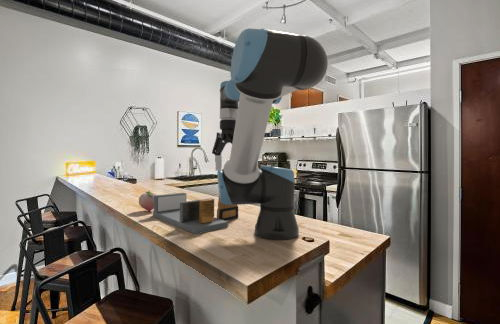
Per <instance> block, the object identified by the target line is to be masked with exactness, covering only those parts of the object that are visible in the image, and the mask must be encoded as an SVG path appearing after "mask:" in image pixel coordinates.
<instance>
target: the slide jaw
mask: <svg viewBox="0 0 500 324" xmlns="http://www.w3.org/2000/svg"><path fill="white" fill-rule="evenodd" d="M214 217H215V198H204V199H196V200H189V201H188V200H186V202H180V222H187V221H192V220H198V219H199V223H207V222H212V221H214Z"/></svg>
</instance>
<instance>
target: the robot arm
mask: <svg viewBox="0 0 500 324" xmlns="http://www.w3.org/2000/svg"><path fill="white" fill-rule="evenodd" d="M230 63H231V65H230V79H229V80H224V81H222V82H221V83H220V88H219V99H220V100H219V101H220V102H219V119H220V121H219V130H221V132H216V137H215V141H214V143H213V144H214V145H213V148H212V151H211V154H212V155H214V160H215V162H214V163H215V169H214V170H215V172H216V171H217V172H216V173H217V186H218V187H217V189H218V197H219V196H220V201H221V203H222V204H225V205H238V206H239V205H240V206H241V205H258V204H259V207H260V208H259V209H260V210H259V212H258V216H257V220H256V223H255V225H254V234H255V235H256V236H258V237H260V238H264V239H268V240H269V239H270V240H277V239H283V240H288V239H287V238H291V239H294V237H295V238H297V237H298V236H299V230H300V229H299V226H298V221H297V218H296V215H295V184H296V182H295V181H296V180H295V172H294V170H292V169H291V168H284V167H277V166H269V165H263V164H262V165H261V166H260V168H259V166H258V163H259V158H260V155H261V151H262V146H263V142H264V138H265V135H266V130H267V127H268V122H269V118H270V114H271V110H272V106H273V105H277V104H280V102H281V100H282V98H283V97H284V96H287V95H289V94H291V93H293V92H296V91H305V90H306V91H307V90H309V89H311V88H313V87H315V86H317V85H318V84H319V83H321V82H322V80H323V79H324V77H325V75H326V73H327V70H328V65H329V63H328V56H327V53H326V50H325V49H324V47H323V46H322V45H321V43H320V42H319V41H318V40H316V39H315V38H313V37H311V36H308V35H304V34H296V33H290V32H284V31H277V30H272V29H271V30H270V29H266V28H249V27H248V28H245V29H244V30H242V31H241V33H240V34H239V35H238V36H237V39H236V42H235V45H234V47H233V51H232V56H231V62H230ZM227 144H231V150H230V156H229V159H228V160H227V161H226V162H225V163H224V165H223V168H222V159H223V156H222V152H223V151H224V149H225V146H226V145H227Z"/></svg>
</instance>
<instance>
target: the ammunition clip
mask: <svg viewBox="0 0 500 324" xmlns="http://www.w3.org/2000/svg"><path fill="white" fill-rule="evenodd" d="M216 218H218V219H221V220H224V221H230V220H235V219H239V205H225V204H222V203H221V201H220V196H219V195H218V201H217V209H216Z"/></svg>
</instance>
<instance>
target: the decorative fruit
mask: <svg viewBox="0 0 500 324" xmlns="http://www.w3.org/2000/svg"><path fill="white" fill-rule="evenodd" d="M154 195H157V194H156V193H154V192H152V191H145V192H144V193H142V194H140V196H139V197H138V204H139V206H140V207H141V208H142V209H144V210H147V211H148V212H151V211H153V210H154Z"/></svg>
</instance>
